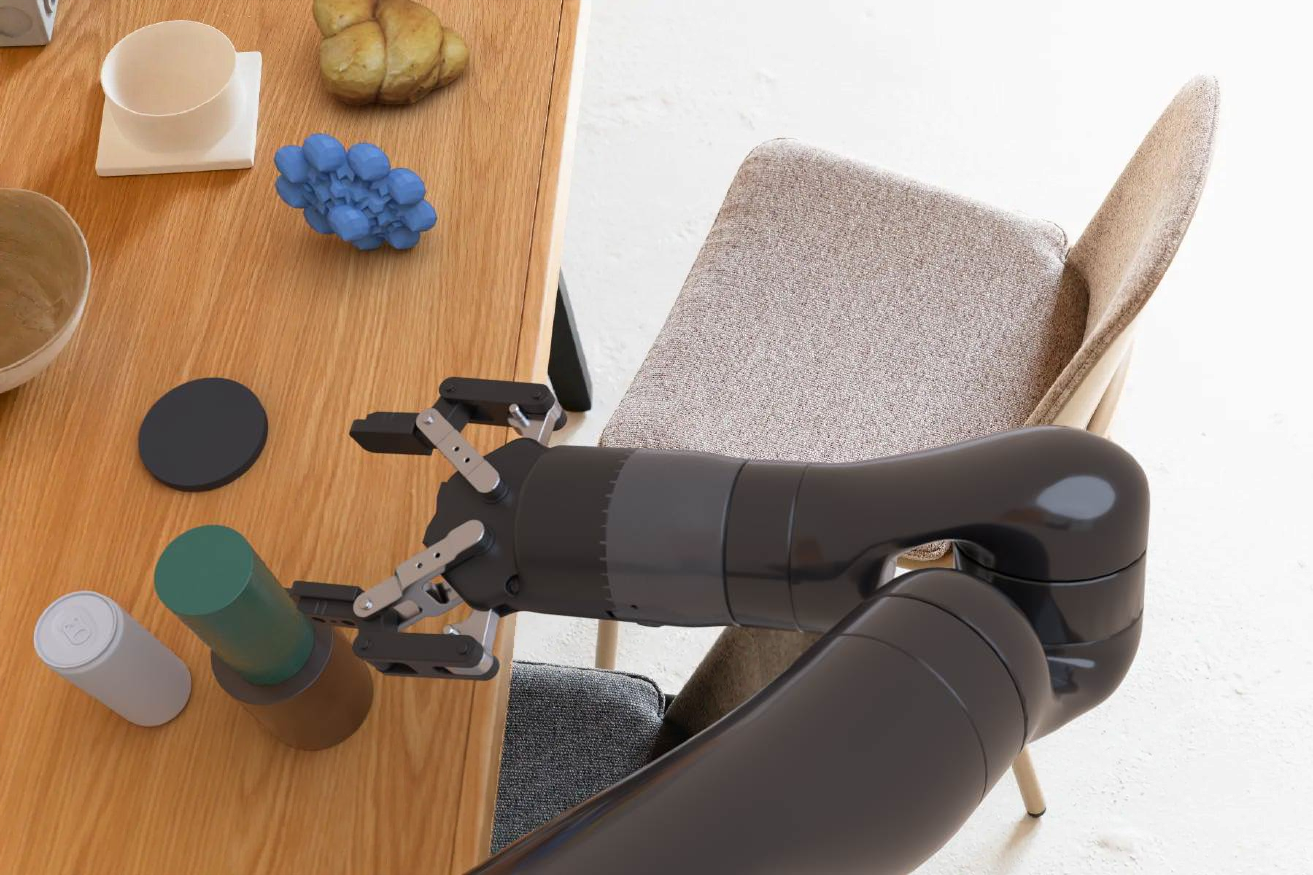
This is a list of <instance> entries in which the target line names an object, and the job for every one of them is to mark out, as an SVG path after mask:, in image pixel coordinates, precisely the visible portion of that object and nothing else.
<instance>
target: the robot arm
mask: <svg viewBox="0 0 1313 875" xmlns="http://www.w3.org/2000/svg"><path fill="white" fill-rule="evenodd" d="M438 394H439V395H440V396H439V397H438V399H437V400H436V401H435V402H434V404H433V405H432V406H431V407H428V408H425V409H423V410H422V411H420V412H410V411H409V412H408V411H407V412H406V411H395V412H394V411H380V410H379V411H378V410H377V411H374V412H370V413H368V414H366V417H365V418H364V419H363V418H362V419H361V418H357V419H354V420H353V421H352V424H351V426H350V429H349V432H348V435H349V436H350V437H351V438H352V439H353V441H354V442H355V443H357V444H358V445H359V447H361V448H362V449H363V450H364V451H366V452H369V453H371V454H382V455H383V454H384V455H403V456H405V455H406V456H427V457H432V455H433V452H434V450H438V451H439V453H440V454H442V456H443V457H444V458H445V459H446V460H447V461H448V462H449V463H450V464H451V465H452V466H453V468H454V469H455V470H457V471H455V472H454V473H453V474H452V475H451V476H450V477H449V478H448V480H447V481H441V482H440V486H439V488H438V491H437V495H436V506H435V513H434V514H433V516H432V518H431V519H430V522H429V523H428V525H427V527H426V529H425V532H424V535H423V538H422V542H421V544H423V546H425V547H426V548H425V549H423V550H422V551H420V552H418V553H416V554H415V555H413V556H411V557H409V558H407V559H406V560H404V561H402V562H401V563H399V564H397V566H395V569H394V572H393V575H391V576H390V577H388V578H387V579H384V580H383V581H381V582H379V583H378V584H376V585H374V586H372V587H370V588H368V589H367V590H364V589H362V587H360V586H359V585H351V584H350V585H349V584H348V585H347V584H340V583H339V584H338V583H327V582H318V581H308V580H307V581H306V580H293V583H292V585H291V587H290V588H291V590H290V593H289V597H290V598H291V599H293V600H294V601H296V602H297V603H298V605H297V609H298V610H299V611H301V612H302V613H304V614H305V615H307V616H308V617H309V618H311V619H312V620H314V621H315V622H317V623H318V624H320V625H327V626H339V628H348V629H356V630H358V631H357V636H356V637H355V638H354V639H353V642H352V650H353V653H354V654H355V655H356V656H357V657H359V658H360V659H362V660H363V661H364V662H365V663H367V664H369V665H371V667H373V668H375V670H376V671H377V672H379V673H380V674H382V675H384V676H385V677H386V676H387V677H399V678H400V677H403V678H419V679H421V678H422V679H438V680H439V679H442V680H460V681H475V682H476V681H477V682H488V681H491V680H493V679H494V678H496V676H497V675H498V672H499V670H500V666H501V664H500V660H499V659H498V657H497V656H495V655H494V654H493V652H494V651H493V649H494V645H495V641H496V636H497V631H498V627H499V622H500V619H502V618H505V617H507V616H509V615H512V614H515V613H521V612H529V613H535V614H542V615H549V616H560V617H572V618H581V619H591V620H602V621H612V622H613V621H614V622H623V623H633V624H636V625H638V626H641V627H647V628H662V627H666V626H667V627H676V628H689V629H691V628H692V629H694V628H696V629H697V628H715V627H734V628H735V627H737V628H738V627H739V628H740V627H741V628H748V629H761V630H769V631H771V630H772V631H782V632H792V633H804V634H813V635H821V637H819V638H818V639H817V640H816V641H815V642H814V643H813V644H811V645H810V646H809V647H808V648H807V649H805V651H804V652H802V653H801V654H800V655H799V656H797V658H795V659H794V660H793V661H792V662H791V663H790V664H789V665H788V666H787V667H785V668H784V669H783V670H782V671H781V672H780V673H779V674H778V675H776V676H775V677H774V678H773V679H771V680H770V681H769V682H768V683H767V684H765V685H764V686H762V687H761V688H760V689H759V690H757V691H756V692H755V693H754V694H752V695H751V696H750V697H749V698H747V699H746V700H745V701H743V702H742V703H741V704H739V705H738V706H737V707H735V708H733V709H732V710H731V711H729V712H728V713H727V714H725V715H724V716H722V717H721V718H719V719H718V720H717V721H715V722H713V723H712V724H711V725H709V726H708V727H705V729H703V730H701V731H700V732H698V733H697V734H695V735H693V736H692V737H690V738H688V739H687V740H686V741H684V742H683V743H681V744H679V745H678V746H676V747H674V748H673V749H671V750H670V751H668V752H666V753H664V754H662V755H661V756H660V757H657V758H656V759H655V760H653V761H651V762H649V763H648V764H645V765H644V766H643V767H641V768H639V769H638V770H636V771H634V772H632V773H630V774H628V775H626V776H625V777H623V778H621V779H619V780H618V781H616V782H613V783H612V784H610V785H608V786H607V787H605V788H603V789H602V790H600V791H598V792H597V793H595V794H593V795H591V796H589V797H587V799H584V800H582V801H581V802H580V803H577V804H576V805H574V806H572V807H571V808H568V809H567V810H566V811H564V812H562V813H560V814H559V815H557V816H555V817H554V818H552V819H550V820H549V821H547V822H545V823H543V824H541V825H540V826H538V827H536V828H535V829H533V830H531V831H530V832H528V833H526V834H524V835H523V836H521V837H520V838H518V839H516V840H515V841H513V842H512V843H510V844H509V845H507V846H505V847H504V848H502V849H501V850H498V851H497V852H496V853H494V854H493V855H490V856H489V857H488V858H486V859H484V860H483V861H482V862H479V863H478V864H476V865H475V866H473V867H472V868H470V869H469V870H467V871H465V872H463V873H462V874H461V875H910V874H911V873H913V872H915V871H916V870H917V869H918V868H920V867H922V865H924V864H925V863H926V862H927V861H928V860H930V859H931V858H932V857H933V856H935V854H937V853H938V852H939V851H940V850H941V849H942V848H944V846H945V845H946V844H947V843H948V842H950V840H952V838H953V837H954V836H955V835H957V833H958V832H959V831H960V830H961V829H962V828H963V826H964V825H965V824H966V822H967V821H968V820H969V819H970V817H971V816H972V815H973V814H974V813H975V811H976V810H977V808H978V807H979V806H980V805H981V804H982V802H983V801H984V800H985V798H986V797H987V796H988V795H989V794H990V792H991V791H992V790H993V789H994V788H995V786H996V785H997V783H999V781H1000V780H1001V779H1002V778H1003V777H1004V775H1005V774H1006V773H1007V771H1008V770H1009V769H1010V768H1011V766H1012V765H1013V764H1014V763H1015V762H1016V760H1017V759H1018V757H1019V756H1020V755H1021V753H1022V752H1023V750H1024V749H1025V748H1026V746H1028V745H1030V744H1032V743H1034V742H1036V741H1038V740H1040V739H1043V738H1045V737H1047V736H1048V735H1051V734H1052V733H1055V732H1057V731H1058V730H1060V729H1061V728H1063V727H1064V726H1066V725H1068V724H1069V723H1072V722H1073V721H1075V720H1077V719H1078V718H1080V717H1081V716H1083V715H1085V714H1087V713H1088V712H1090V711H1092V710H1094V709H1095V708H1097V707H1099V706H1101V705H1102V704H1103V703H1104V702H1106V701H1107V700H1108V699H1109V698H1111V696H1112V695H1113V694H1115V692H1116V691H1117V689H1118V688H1119V687H1120V686H1121V684H1122V683H1123V682H1124V680H1125V678H1126V677H1127V674H1128V672H1130V669H1131V667H1132V665H1133V663H1134V661H1135V658H1136V655H1137V654H1138V649H1139V646H1140V643H1141V638H1142V632H1143V626H1144V624H1143V623H1144V610H1145V609H1144V608H1145V591H1146V590H1145V589H1146V577H1147V576H1146V575H1147V574H1146V573H1147V563H1148V562H1147V560H1148V558H1147V557H1148V546H1149V544H1148V542H1149V532H1150V519H1151V518H1150V517H1151V492H1150V486H1149V479H1148V477H1147V474H1146V473H1145V470H1144V469H1143V467H1142V465H1141V464H1140V463H1139V461H1138V460H1137V459H1136V458H1135V457H1134V456H1133V455H1132V454H1131V452H1129V451H1127V450H1126V449H1125V448H1123V447H1122V446H1121V445H1119V444H1118V443H1116V442H1115V441H1113V440H1111V439H1109V438H1108V437H1105V436H1103V435H1101V434H1099V433H1096V432H1093V431H1089V430H1087V429H1082V428H1079V427H1074V426H1069V425H1059V424H1039V425H1027V426H1022V427H1021V426H1020V427H1015V428H1010V429H1004V430H1000V431H996V432H992V433H986V434H983V435H978V436H975V437H974V436H973V437H971V438H967V439H962V440H959V441H955V442H951V443H947V444H942V445H938V446H933V447H928V448H924V449H918V450H912V451H908V452H902V453H897V454H892V455H886V456H879V457H874V458H868V459H862V460H854V461H852V460H851V461H844V462H843V461H842V462H827V461H826V462H825V461H824V462H823V461H822V462H821V461H811V460H810V461H807V460H805V461H804V460H786V459H785V460H783V459H763V458H761V459H760V458H753V459H751V458H745V457H744V458H743V457H737V456H731V455H730V456H729V455H724V454H720V453H714V452H708V451H700V450H690V449H689V450H688V449H667V448H666V449H665V448H660V449H659V448H643V447H642V448H641V447H620V446H619V447H617V446H592V445H570V444H569V445H568V444H559V445H554V446H551V447H548V446H549V443H550V439H551V437H552V434H553V432H559V431H560V430H562V429H564V427H565V426H566V424H567V423H568V415H567V413H566V411H565V410H564V408H563V407H562V405H561V404H560V403H559V401H558V399H557V398H556V396H555V395H554V394H553V392H552V391H551V389H550V388H549V387H548V385H546V384H544V383H538V382H524V381H513V380H500V379H490V378H489V379H488V378H477V377H464V376H463V377H462V376H449V377H447V378H445V379H443V380H442V381H441V383H440V384H439V386H438ZM467 424H474V425H482V426H492V427H493V426H494V427H502V428H503V427H505V428H512V429H513V430H514V432H516V434H517V435H518V436H520V437H518V438H514V439H512V440H511V441H509V442H506V443H505V444H503V445H501V446H499V447H498V448H496V449H494V450H492V451H490V452H489V453H486V454H485V455H482V454H481V453H480V452H479V451H478V450H477V449H476V448H474V446H473V445H472V444H471V443H470V442H469V441H468V440H467V439H466V438H465V437H464V436H463V435H462V434H461V433H462V432H463V430H464V428H465V427H466V426H467ZM940 542H941V543H942V542H952V567H947V566H927V567H921V568H915V569H912V570H910V571H907V572H904V573H902V574H900V575H898V576H896V572H897V566H898V561H899V557H900V556H902V555H904V554H906V553H908V552H910V551H913V550H916V549H919V548H921V547H924V546H927V545H931V544H935V543H940ZM439 576H441V577H442V578H443V579H444V580H443V581H441V582H435V583H434V582H432V581H431V580H433V579H435V578H437V577H439ZM463 603H465V604H466V605H467V606H468V607H469V608H471V609H472V610H471V613H470V614H469V616H467V618H466V619H464V620H463V621H460V622H454V623H451V624H445V626H444V627H443V628H442V633H426V632H402V631H404V630H406V629H407V628H409V627H412V625H414V624H417V623H418V622H420V621H421V620H423V619H425V618H429V617H430V618H437V617H439V616H442V615H444V614H445V613H447V612H449V611H450V610H452V609H454V608H456V607H457V606H459V605H461V604H463Z"/></svg>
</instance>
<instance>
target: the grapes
mask: <svg viewBox="0 0 1313 875" xmlns="http://www.w3.org/2000/svg"><path fill="white" fill-rule="evenodd" d="M273 162H274V166H275V168H276V170H277V171H278V173H280V175H279V176H277V177H276V180H275V183H274V187H275V190H276V193H277V195H278V196H279V198H280V199H281V200H282V201H283V202H284V203H285V204H286V205H287V206H289V207H290V208H293V209H297V210H298V209H300V210H303V211H302V214H303V217H304V221H305V222H306V224H308V226H309V227H310V229H312V230H314V231H315V232H316V233H317V234H320V235H326V236H327V235H328V236H329V235H334V234H335V235H336V236H337V237H338V238H339V239H341V241H344V242H350V243H351V245H353V246H354V247H355V248H357V249H358V250H361V251H371V250H376V249H378V248H379V247H381V246H382V245H383V244H384V242H386V243H387V244H388V245H390V246H391V247H392V248H394V249H396V250H408V249H412V248H414V247H415V246H416V245H419V242H420V239H421V237H422V235H421V233H424V232H428V231H430V230H432V229H433V228H434V227H435V226H436V224H437V220H438V216H437V212H436V209H435V208H434V207H433V205H432V204H431V202H429V201H428V200H426V199H425V196H426V194H427V189H426V184H425V182H424V181H423V179H421V177H420V175H418V174H417V173H416V172H414V171H413V170H411V169H409V168H406V167H395V168H392V165H391V163H390V162H391V161H390V159H389V157H388V155H387V154H386V153H385V151H383V149H382V148H380V147H378V146H377V145H376V144H374V143H370V142H358V143H354V144H352V145H351V146H350V147H349V148H348V149H347V150H346V148H345V147H344V145H343V144H342V143H341V142H340V141H339V140H338V139H337V138H335V137H334V136H332V135H331V134H327V133H323V132H318V133H313V134H310V135H309V136H308V137H307V136H306V138H305V139H303V143H302V146H300V145H295V144H292V145H291V144H290V145H284V146H281V147H280V148H279V149H277V150H276V151H275V154H274V157H273Z"/></svg>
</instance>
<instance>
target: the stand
mask: <svg viewBox="0 0 1313 875" xmlns="http://www.w3.org/2000/svg"><path fill="white" fill-rule="evenodd" d="M291 588H292V587H284V589H285V590H286V591H287V592H288V594H289V593H290V590H291ZM295 603H296V604H297V605H298V603H297V602H296V601H295ZM306 617H307V618H308V619H309V621H310V623H311V625H312V628H313V632H314V645H313V650H312V652H311V655H310V657H309V659H308V661H307V662H306V664H305V665H304V666H303V667H302V669H301V670H300V671H299V672H298V673H296V674H295V675H294V676H292V677H291V678H289V679H287V680H285V681H283V682H280V683H277V684H273V685H257V684H253V683H250V682H248V681H246V680H244V679H243V678H241V677H240V676H239V675H238V674H237V673H236V672H235V671H234V670H233V669H232V668H231V667H229V666H228V665H227V664H226V663H225V662H224V661H223V660H222V659H221V658H220V657H219V656H218V655H217V654H216V653H215V652H214V651H213V650H212V649H211V648H210V665H211V671H212V673H213V676H214V678H215V680H216V682H217V683H218V685H219V686H220V688H221V689H222V690H223V692H225V693H226V694H227V695H228V696H229V697H230V698H232V699H233V700H234V701H236V703H237V704H238V705H239V706H241V707H242V708H243V709H244V710H245V711H246V712H248V713H249V714H250V715H251V716H252V717H253V718H254V719H256V720H257V722H259V723H260V724H261V725H262V726H264V728H266V729H267V730H268V731H269V732H270V733H271V734H273V736H275V737H276V738H277V739H278V740H279V741H280V742H282V743H283V744H285V745H287V746H289V747H290V748H294V749H296V750H301V751H312V752H313V751H321V750H325V749H329V748H331V747H334V746H336V745H339V744H340V743H343V742H344V741H345V740H347V739H348V738H350V737H351V736H352V735H354V733H355V732H356V731H357V730H358V729H359V728H360V726H361V725H362V724H363V723H364V721H365V720H366V718H367V716H368V714H369V711H370V710H371V707H372V703H373V699H374V681H373V677H372V676H373V675H372V673H371V671H370V669H369V667H368V664H367V662H366V661H363V660H362V659H360V658H359V657H357V656H356V655H355V654H354V653H353V650H352V645H353V643H351V641H350V640H349V639H348V637H347V636H346V635H345V633H344V632H343V630H342V629H341V627H339V626H327V625H320V624H318V623H317V622H315V621H314V620H312V619H311V618H309V617H308V616H307V615H306Z"/></svg>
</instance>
